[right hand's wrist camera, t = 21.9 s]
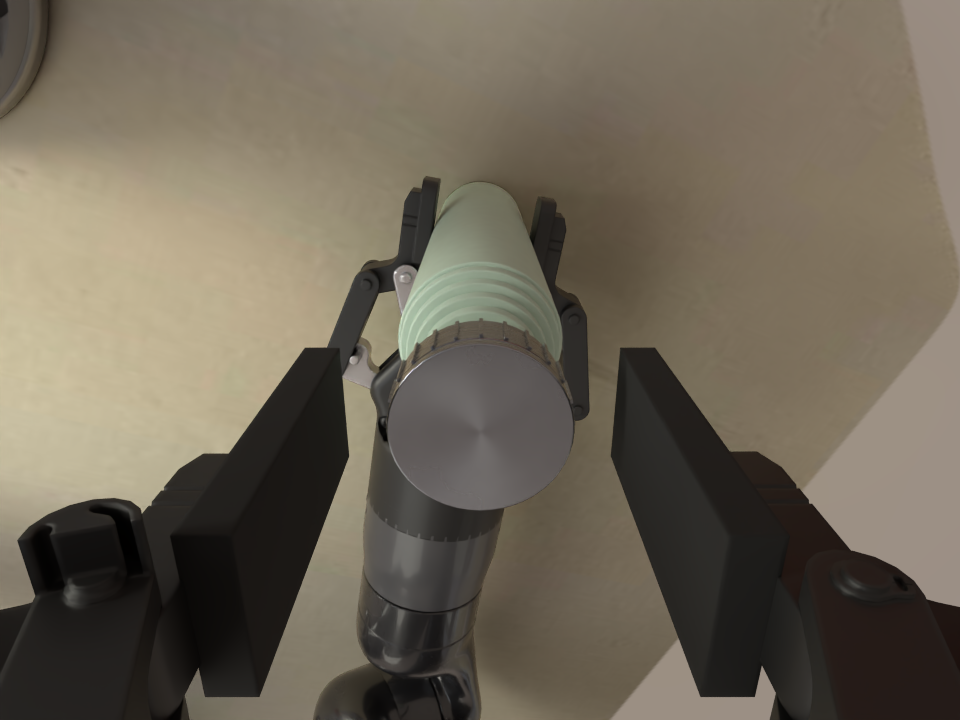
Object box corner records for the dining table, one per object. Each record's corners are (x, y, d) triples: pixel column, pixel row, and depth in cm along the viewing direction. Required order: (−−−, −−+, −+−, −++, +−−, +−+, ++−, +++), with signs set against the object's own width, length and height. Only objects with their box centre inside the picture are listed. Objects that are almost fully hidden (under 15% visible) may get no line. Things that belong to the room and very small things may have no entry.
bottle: (468, 164, 35) (449, 267, 13) (537, 213, 36) (631, 387, 14) (422, 235, 36) (333, 439, 14) (490, 280, 37) (507, 536, 15)
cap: (431, 289, 14) (425, 311, 12) (597, 357, 14) (610, 385, 13) (369, 440, 15) (357, 476, 13) (523, 497, 15) (528, 536, 14)
